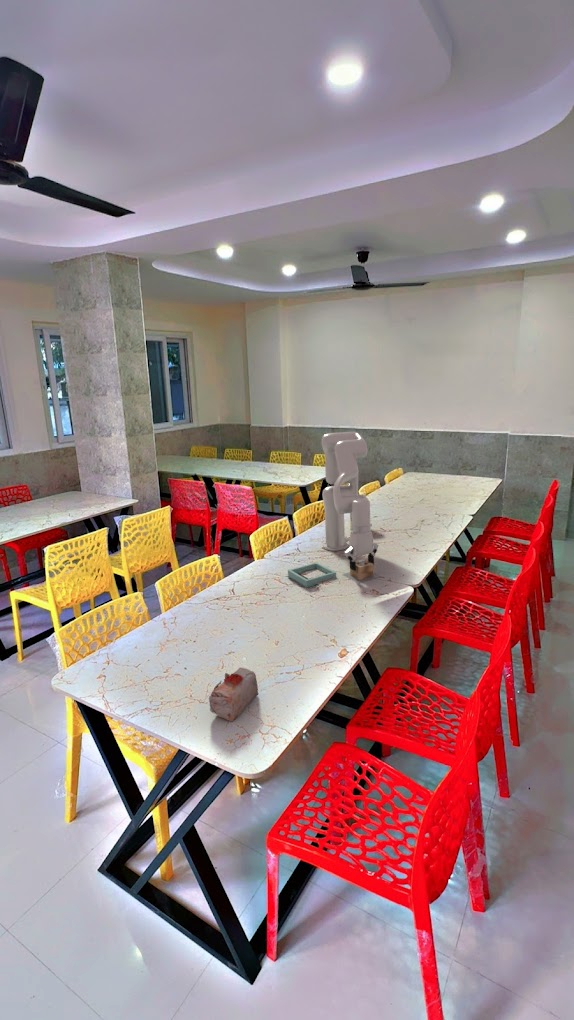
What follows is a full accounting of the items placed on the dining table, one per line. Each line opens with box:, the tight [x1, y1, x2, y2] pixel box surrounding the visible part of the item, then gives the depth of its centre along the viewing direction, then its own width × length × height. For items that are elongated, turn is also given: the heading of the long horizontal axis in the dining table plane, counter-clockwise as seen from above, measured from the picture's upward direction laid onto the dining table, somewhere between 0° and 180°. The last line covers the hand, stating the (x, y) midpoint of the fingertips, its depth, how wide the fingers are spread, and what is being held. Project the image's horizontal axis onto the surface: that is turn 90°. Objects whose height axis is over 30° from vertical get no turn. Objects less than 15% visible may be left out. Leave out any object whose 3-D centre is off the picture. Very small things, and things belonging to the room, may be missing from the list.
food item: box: [208, 667, 260, 722], centre depth 136 cm, size 14×8×10 cm, turn 150°
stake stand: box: [342, 559, 383, 585], centre depth 216 cm, size 12×12×8 cm
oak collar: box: [349, 558, 375, 580], centre depth 216 cm, size 7×7×6 cm
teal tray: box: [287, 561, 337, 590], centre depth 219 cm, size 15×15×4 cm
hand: (362, 567), depth 215 cm, fingers open, 9 cm apart
